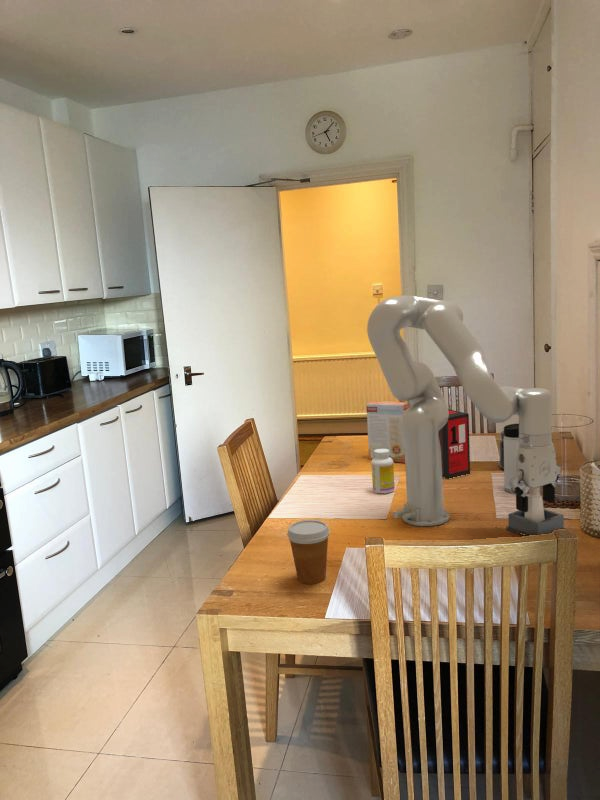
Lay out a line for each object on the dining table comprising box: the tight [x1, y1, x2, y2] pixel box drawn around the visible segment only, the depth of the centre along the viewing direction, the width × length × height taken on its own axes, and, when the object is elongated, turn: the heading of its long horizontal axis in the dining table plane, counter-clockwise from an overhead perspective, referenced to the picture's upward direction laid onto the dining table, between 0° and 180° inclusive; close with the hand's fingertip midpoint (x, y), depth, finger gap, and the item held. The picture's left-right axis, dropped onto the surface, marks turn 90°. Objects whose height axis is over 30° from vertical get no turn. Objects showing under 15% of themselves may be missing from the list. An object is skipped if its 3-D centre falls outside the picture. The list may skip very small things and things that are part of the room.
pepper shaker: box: [524, 487, 545, 522], centre depth 165 cm, size 5×5×11 cm
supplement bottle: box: [370, 449, 396, 495], centre depth 203 cm, size 7×7×13 cm
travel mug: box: [503, 422, 524, 494], centre depth 195 cm, size 6×7×20 cm
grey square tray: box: [505, 508, 567, 537], centre depth 166 cm, size 10×10×4 cm
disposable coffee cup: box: [286, 519, 331, 585], centre depth 148 cm, size 10×10×12 cm
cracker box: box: [365, 400, 410, 464], centre depth 236 cm, size 14×6×21 cm, turn 58°
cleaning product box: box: [439, 408, 471, 480], centre depth 218 cm, size 16×9×20 cm, turn 26°
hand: (535, 506), depth 165 cm, fingers open, 9 cm apart
